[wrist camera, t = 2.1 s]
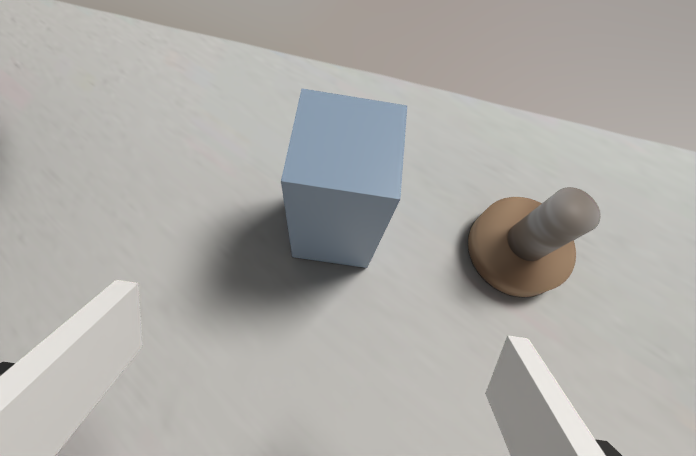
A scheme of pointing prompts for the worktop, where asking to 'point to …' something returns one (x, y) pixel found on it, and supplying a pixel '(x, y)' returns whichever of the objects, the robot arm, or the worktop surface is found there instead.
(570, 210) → the post stand
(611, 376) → the worktop surface
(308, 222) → the upright blue pillar
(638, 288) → the worktop surface
